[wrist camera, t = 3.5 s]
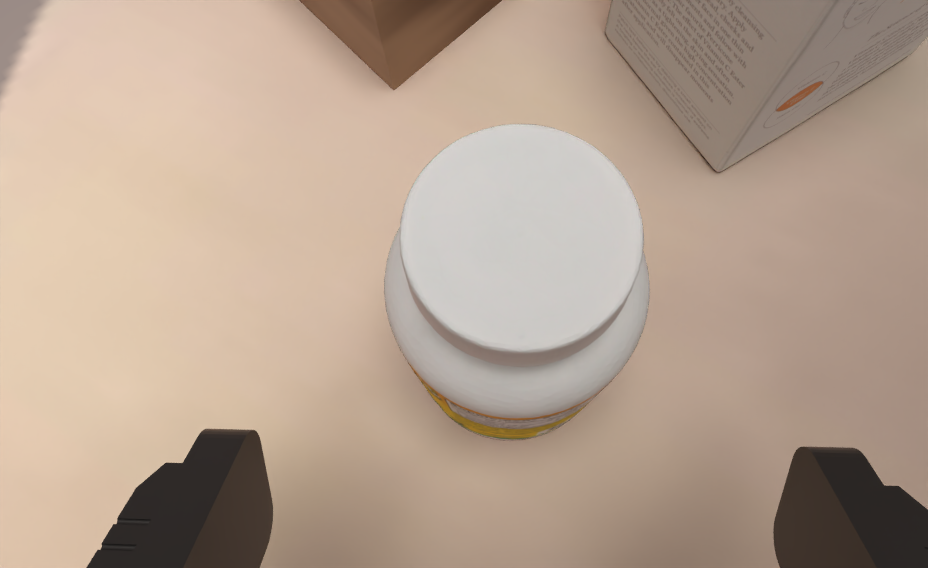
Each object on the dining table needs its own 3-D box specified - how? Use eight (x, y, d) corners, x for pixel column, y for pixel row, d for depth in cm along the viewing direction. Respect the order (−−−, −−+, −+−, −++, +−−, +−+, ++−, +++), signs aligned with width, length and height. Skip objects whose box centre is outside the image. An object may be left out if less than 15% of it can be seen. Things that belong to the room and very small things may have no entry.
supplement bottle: (593, 452, 20) (681, 424, 10) (404, 428, 20) (328, 380, 11) (606, 270, 21) (695, 101, 12) (431, 251, 21) (383, 73, 12)
